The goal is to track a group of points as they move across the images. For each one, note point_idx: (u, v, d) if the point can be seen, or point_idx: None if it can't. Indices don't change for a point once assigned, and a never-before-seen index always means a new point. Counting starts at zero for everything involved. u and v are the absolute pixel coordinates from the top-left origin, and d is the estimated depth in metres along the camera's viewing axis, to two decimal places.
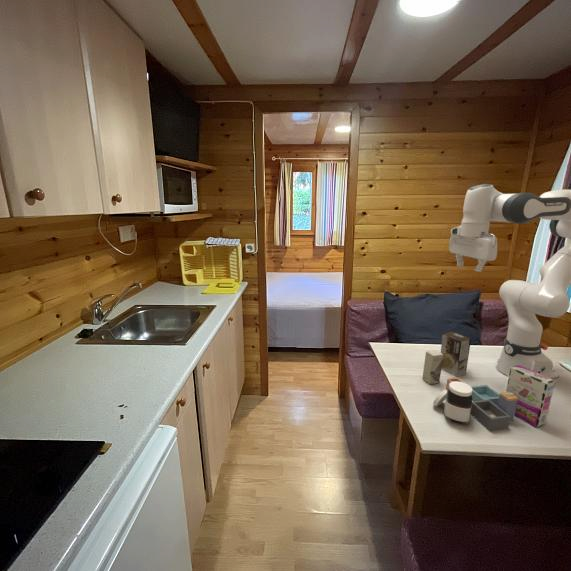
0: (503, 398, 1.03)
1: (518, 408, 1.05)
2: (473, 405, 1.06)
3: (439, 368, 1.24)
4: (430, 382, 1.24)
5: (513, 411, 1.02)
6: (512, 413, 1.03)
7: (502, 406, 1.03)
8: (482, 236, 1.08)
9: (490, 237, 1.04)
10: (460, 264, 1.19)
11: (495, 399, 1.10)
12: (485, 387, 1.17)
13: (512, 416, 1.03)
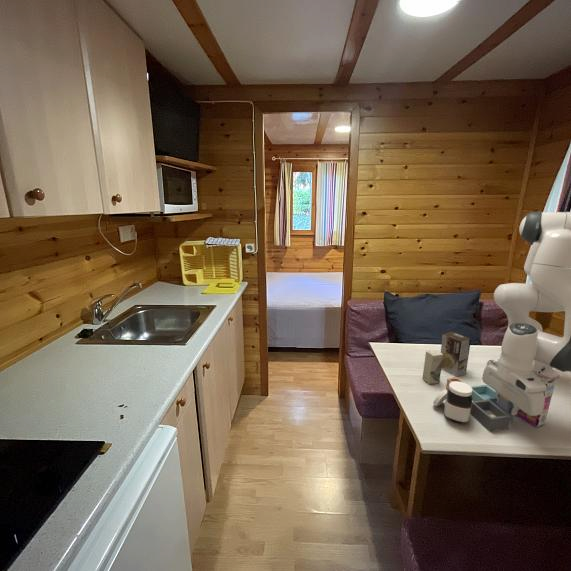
0: (503, 398, 1.03)
1: None
2: (473, 405, 1.06)
3: (439, 368, 1.24)
4: (430, 382, 1.24)
5: None
6: None
7: (502, 406, 1.03)
8: None
9: None
10: None
11: (495, 399, 1.10)
12: (485, 387, 1.17)
13: (512, 416, 1.03)
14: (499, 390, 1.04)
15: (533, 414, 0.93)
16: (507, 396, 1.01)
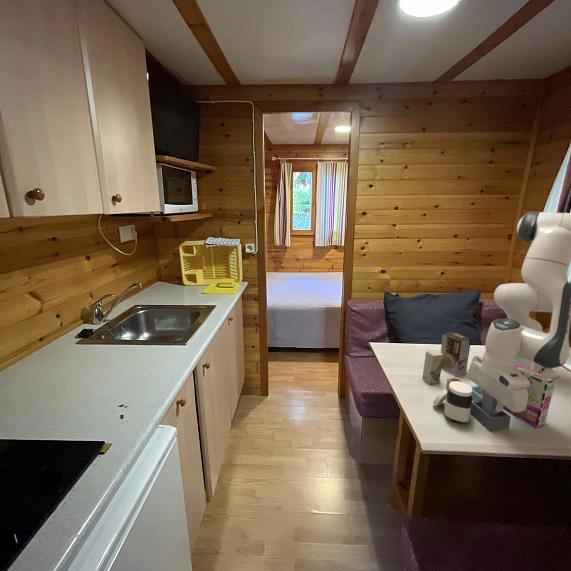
0: (488, 395, 1.01)
1: None
2: (473, 405, 1.06)
3: (439, 368, 1.24)
4: (430, 382, 1.24)
5: None
6: None
7: (487, 402, 1.02)
8: None
9: None
10: None
11: None
12: None
13: (497, 413, 1.02)
14: (484, 386, 1.03)
15: (516, 410, 0.91)
16: (491, 392, 1.00)
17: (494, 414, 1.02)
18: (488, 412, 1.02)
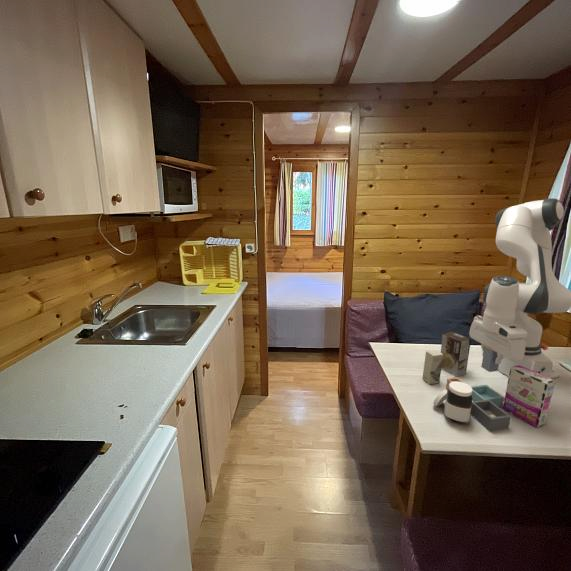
0: (488, 349, 1.09)
1: (518, 408, 1.05)
2: (473, 405, 1.06)
3: (439, 368, 1.24)
4: (430, 382, 1.24)
5: None
6: None
7: (487, 356, 1.09)
8: None
9: None
10: None
11: (495, 399, 1.10)
12: (485, 387, 1.17)
13: (496, 366, 1.09)
14: (484, 342, 1.10)
15: (514, 359, 0.99)
16: (491, 346, 1.07)
17: (494, 367, 1.09)
18: (488, 365, 1.09)
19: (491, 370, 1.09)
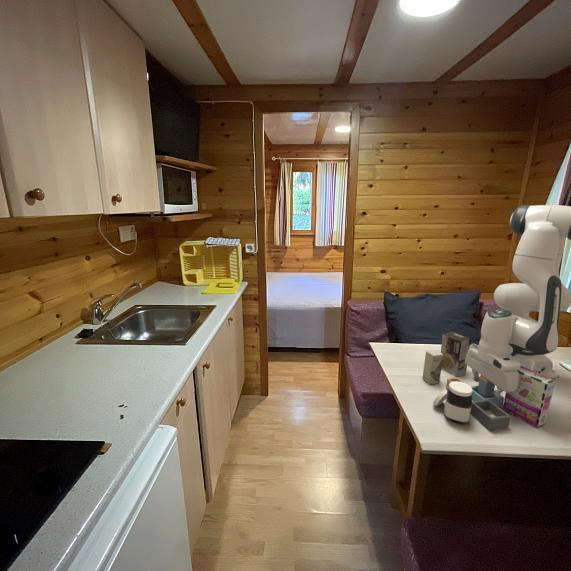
0: (483, 380, 1.12)
1: (518, 408, 1.05)
2: (473, 405, 1.06)
3: (439, 368, 1.24)
4: (430, 382, 1.24)
5: (492, 392, 1.12)
6: (491, 394, 1.12)
7: (482, 387, 1.12)
8: None
9: None
10: None
11: (495, 399, 1.10)
12: None
13: None
14: (479, 371, 1.13)
15: (508, 390, 1.02)
16: (486, 376, 1.10)
17: None
18: (483, 396, 1.12)
19: None
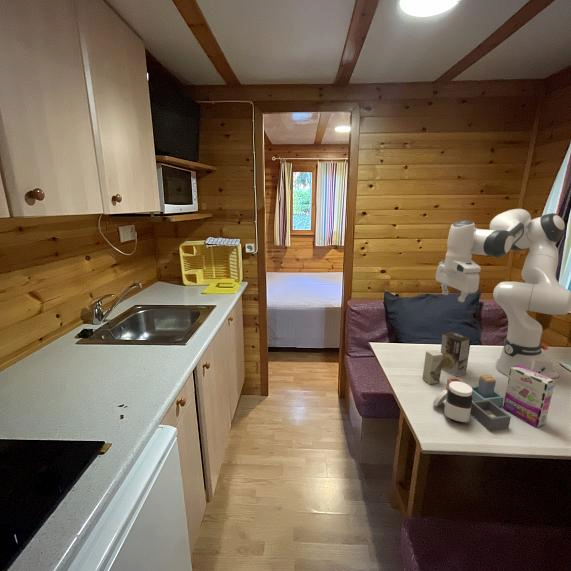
0: (483, 380, 1.12)
1: (518, 408, 1.05)
2: (473, 405, 1.06)
3: (439, 368, 1.24)
4: (430, 382, 1.24)
5: (492, 392, 1.12)
6: (491, 394, 1.12)
7: (482, 387, 1.12)
8: None
9: None
10: None
11: (495, 399, 1.10)
12: None
13: None
14: (447, 282, 1.23)
15: (470, 291, 1.12)
16: (452, 284, 1.20)
17: None
18: (483, 396, 1.12)
19: None
